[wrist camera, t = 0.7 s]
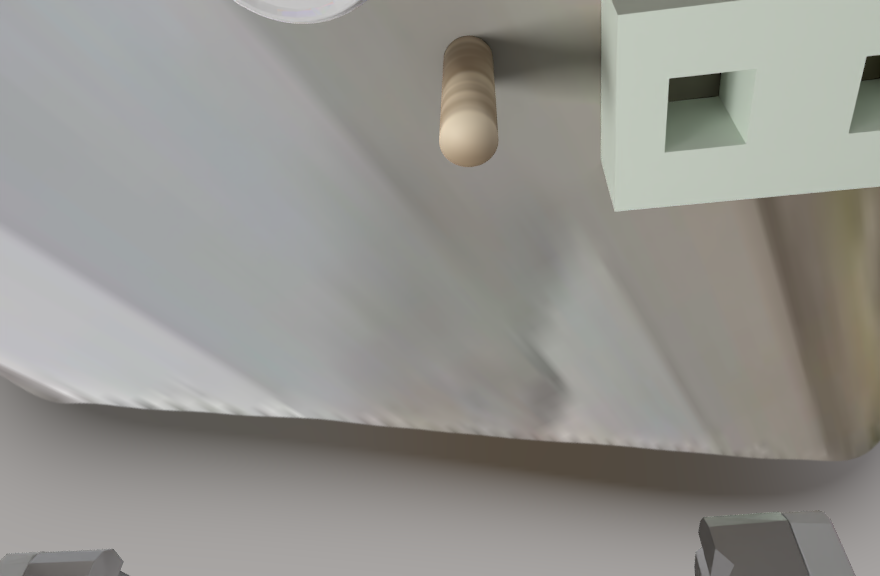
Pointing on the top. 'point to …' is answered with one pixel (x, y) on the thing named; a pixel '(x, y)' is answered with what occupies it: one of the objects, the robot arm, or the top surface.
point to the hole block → (738, 99)
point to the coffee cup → (301, 9)
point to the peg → (468, 103)
